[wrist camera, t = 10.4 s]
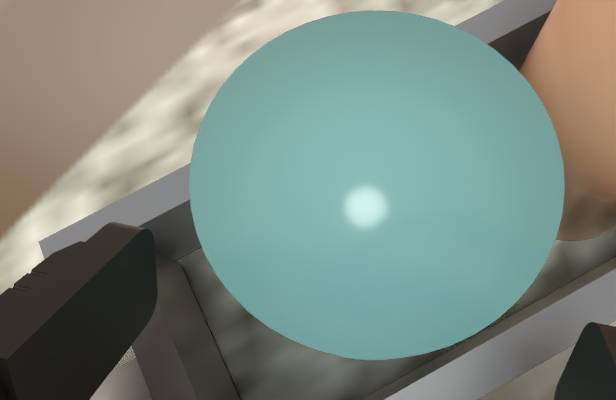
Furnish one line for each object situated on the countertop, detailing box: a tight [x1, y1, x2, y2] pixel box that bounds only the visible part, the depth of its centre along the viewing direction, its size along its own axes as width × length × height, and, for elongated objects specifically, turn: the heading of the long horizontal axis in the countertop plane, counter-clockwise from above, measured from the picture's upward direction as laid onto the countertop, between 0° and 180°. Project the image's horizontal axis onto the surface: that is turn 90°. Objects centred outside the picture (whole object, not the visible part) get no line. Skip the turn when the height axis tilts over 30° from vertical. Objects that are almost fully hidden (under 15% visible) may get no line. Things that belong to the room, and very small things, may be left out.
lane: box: [39, 0, 616, 400], centre depth 15 cm, size 20×9×4 cm, turn 118°
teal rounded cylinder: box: [189, 11, 565, 361], centre depth 12 cm, size 6×6×10 cm
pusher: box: [90, 250, 240, 400], centre depth 14 cm, size 5×6×4 cm
